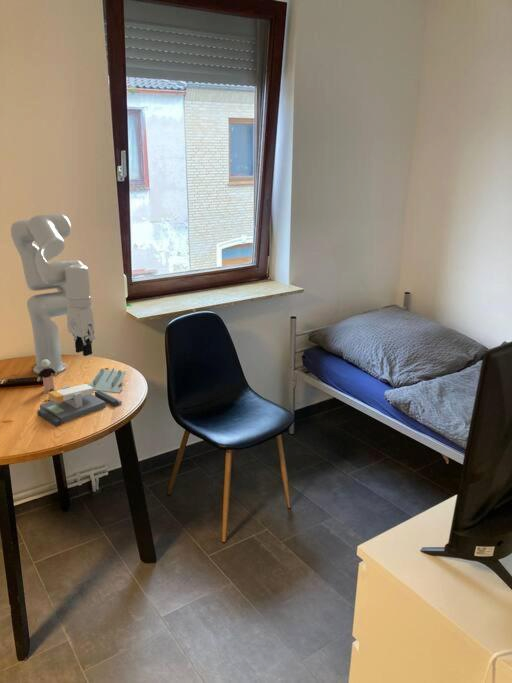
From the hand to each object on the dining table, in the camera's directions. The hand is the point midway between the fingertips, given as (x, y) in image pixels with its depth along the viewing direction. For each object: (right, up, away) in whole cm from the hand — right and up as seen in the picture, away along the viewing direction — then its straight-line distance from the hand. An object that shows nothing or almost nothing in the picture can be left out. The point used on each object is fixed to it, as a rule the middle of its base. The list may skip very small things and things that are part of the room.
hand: (84, 352), depth 186 cm
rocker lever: (-4, -15, 0) cm, 16 cm away
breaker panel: (-4, -20, +2) cm, 20 cm away
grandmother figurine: (-18, -15, +15) cm, 28 cm away
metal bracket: (+2, -13, +22) cm, 26 cm away
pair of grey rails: (-2, -20, +2) cm, 20 cm away
